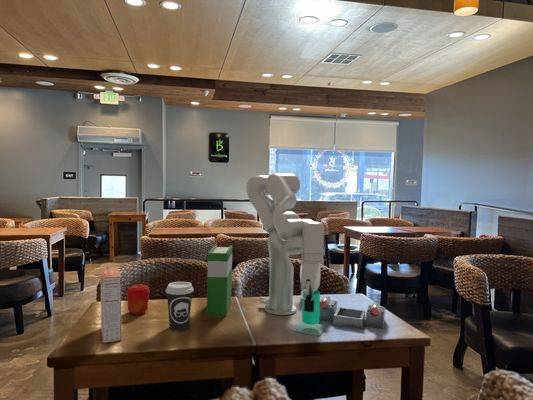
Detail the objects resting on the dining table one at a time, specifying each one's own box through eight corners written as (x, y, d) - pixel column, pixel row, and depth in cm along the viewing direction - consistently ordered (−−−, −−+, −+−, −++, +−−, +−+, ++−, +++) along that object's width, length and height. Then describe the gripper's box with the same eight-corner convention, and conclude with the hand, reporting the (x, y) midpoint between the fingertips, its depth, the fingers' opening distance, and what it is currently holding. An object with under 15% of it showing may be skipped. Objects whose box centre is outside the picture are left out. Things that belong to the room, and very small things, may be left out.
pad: (294, 331, 132) (294, 330, 132) (300, 322, 141) (300, 321, 141) (319, 336, 129) (320, 335, 129) (325, 326, 138) (325, 325, 138)
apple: (135, 307, 152) (135, 278, 151) (154, 310, 150) (154, 280, 149) (121, 315, 144) (121, 284, 143) (141, 317, 142) (141, 286, 141)
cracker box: (100, 327, 131) (100, 267, 130) (119, 325, 134) (119, 266, 133) (100, 344, 118) (101, 277, 117) (121, 341, 121) (122, 275, 120)
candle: (302, 324, 132) (303, 289, 131) (301, 318, 138) (302, 285, 137) (320, 324, 131) (321, 290, 131) (318, 318, 137) (319, 285, 137)
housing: (314, 322, 142) (315, 307, 141) (321, 311, 154) (322, 297, 153) (382, 332, 134) (383, 316, 133) (384, 320, 145) (385, 305, 145)
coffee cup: (198, 324, 137) (198, 282, 136) (184, 334, 128) (184, 289, 127) (174, 320, 140) (175, 279, 139) (159, 330, 131) (159, 286, 130)
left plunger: (319, 308, 141) (319, 300, 141) (323, 302, 148) (323, 294, 148) (327, 309, 140) (327, 301, 140) (330, 303, 147) (331, 295, 147)
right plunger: (369, 315, 135) (370, 307, 135) (371, 309, 142) (371, 301, 142) (378, 317, 134) (379, 308, 134) (380, 310, 141) (380, 302, 141)
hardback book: (213, 301, 163) (214, 245, 161) (231, 301, 163) (232, 245, 161) (206, 316, 145) (207, 253, 144) (226, 316, 145) (227, 253, 144)
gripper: (307, 252, 143) (306, 300, 144) (295, 260, 127) (293, 315, 128) (327, 254, 140) (326, 303, 141) (317, 262, 124) (316, 318, 125)
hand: (310, 308), depth 134 cm, fingers closed on candle, 4 cm apart
